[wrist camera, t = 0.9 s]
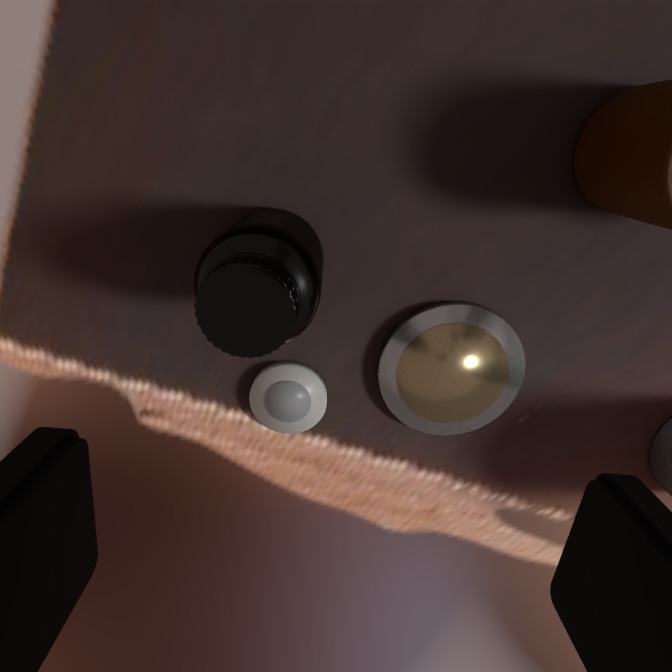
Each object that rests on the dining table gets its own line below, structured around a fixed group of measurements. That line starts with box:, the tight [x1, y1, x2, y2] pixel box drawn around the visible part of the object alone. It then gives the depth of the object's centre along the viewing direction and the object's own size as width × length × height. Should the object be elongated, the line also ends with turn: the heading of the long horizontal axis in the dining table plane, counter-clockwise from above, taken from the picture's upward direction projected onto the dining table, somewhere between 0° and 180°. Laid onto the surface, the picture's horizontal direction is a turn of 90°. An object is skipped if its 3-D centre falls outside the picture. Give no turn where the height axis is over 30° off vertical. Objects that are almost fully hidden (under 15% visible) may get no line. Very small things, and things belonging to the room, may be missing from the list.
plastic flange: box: [249, 361, 327, 434], centre depth 36 cm, size 6×6×1 cm
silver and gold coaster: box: [377, 301, 525, 435], centre depth 35 cm, size 11×11×1 cm
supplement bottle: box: [194, 208, 323, 358], centre depth 27 cm, size 7×7×12 cm
